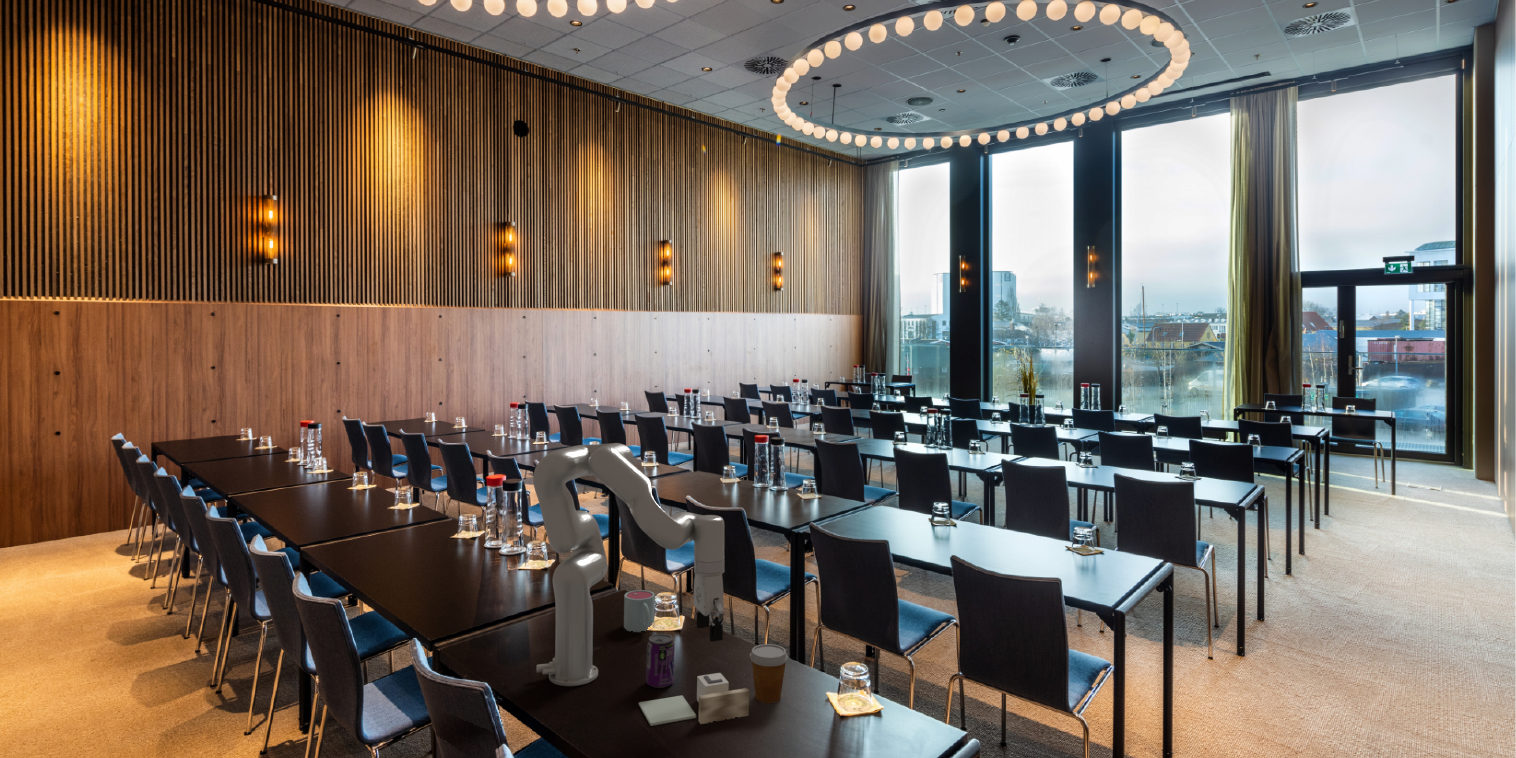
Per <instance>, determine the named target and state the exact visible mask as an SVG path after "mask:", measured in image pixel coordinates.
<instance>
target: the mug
mask: <svg viewBox="0 0 1516 758" xmlns="http://www.w3.org/2000/svg"><path fill="white" fill-rule="evenodd" d="M623 597H624V598H623V599H624V600H623V603H624V604H623V606H624V607H623V612H624V613H623V629H624V628H625V629H626V630H625V629H624V630H625V631H627V632H631V631H633V632H632V633H642V632H641V631H645V632H647V631H646V630H647V629H648V627H650V626H651V625H652V623H653V622H654V623H655V603H656V602H655V593H654V592H653V591H650V590H643V589H641V590H640V589H639V590H632V591H631V590H630V591H627V592H625V594H624V596H623Z"/></svg>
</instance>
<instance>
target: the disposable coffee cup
mask: <svg viewBox="0 0 1516 758" xmlns="http://www.w3.org/2000/svg"><path fill="white" fill-rule="evenodd" d="M787 653H788V652H787V650H786V648H784V647H783V646H782V645H781V646H780V645H778V644H772V643H771V644H769V643H763V644H759V645H755V646H754V647H753V648H752V649H751V652H750V653H749V657H750V660H751V668H752V678H753V687H754V688H753V689H754V697H755V700H756V701H757V702H759V703H761V702H763V703H762V704H768V703H770V704H774V703H773V702H776V703H778V702H780V700H781V697H782V690H783V683H784V677H785V669H786V663H787V661H788V658H789V656H788V654H787Z"/></svg>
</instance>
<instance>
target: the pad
mask: <svg viewBox="0 0 1516 758" xmlns="http://www.w3.org/2000/svg"><path fill="white" fill-rule="evenodd" d="M638 706H639V707H640V709H641V711H642V713H643V715H644V717H645V719H646V721H647V722H648V724H649V725H650V726H658V725H663V724H664V725H665V724H668V723H673V722H674V723H675V722H680V721H685V720H692V719H697V714H696V713H695V711H694V710H693V709H692V707H691V705H690V704H689V703H688V701H687V700H686V699H685V696H684V695H676V696H671V697H665V698H658V699H653V700H651V699H650V700H646V701H640V702H638Z"/></svg>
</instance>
